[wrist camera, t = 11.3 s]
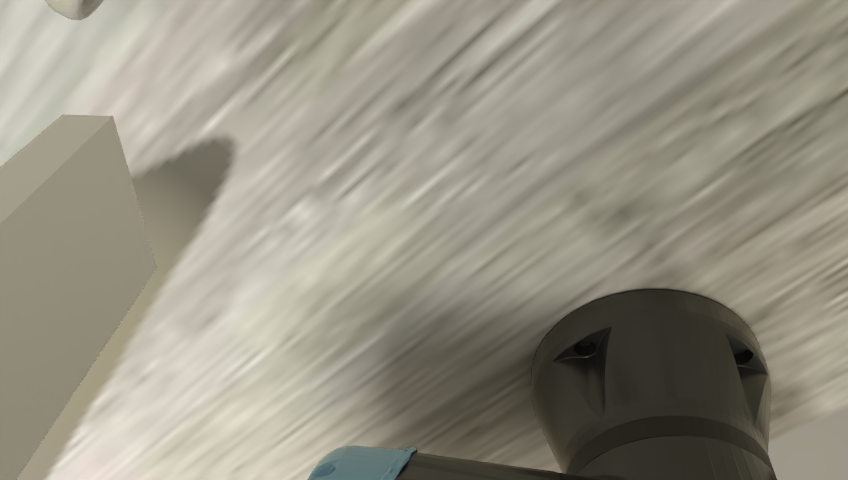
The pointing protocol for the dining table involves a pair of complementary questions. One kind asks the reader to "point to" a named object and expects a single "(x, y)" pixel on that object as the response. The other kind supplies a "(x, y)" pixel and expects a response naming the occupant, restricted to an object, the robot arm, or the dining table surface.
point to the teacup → (74, 7)
